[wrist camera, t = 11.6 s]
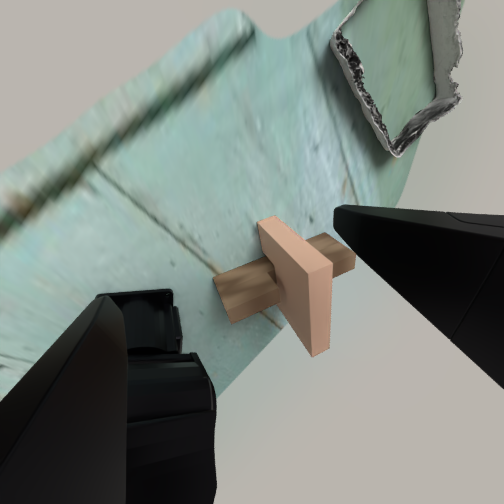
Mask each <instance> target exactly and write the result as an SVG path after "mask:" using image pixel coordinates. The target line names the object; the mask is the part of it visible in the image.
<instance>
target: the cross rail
mask: <svg viewBox="0 0 504 504" xmlns="http://www.w3.org/2000/svg"><path fill="white" fill-rule="evenodd" d="M305 241H307V242H308V243H309V244H310V245H312V246H313V247H314V248H315V249H316V250H318V251H319V252H320V253H321V254H322V255H324V256H325V257H326V258H327V259H329V260H330V261H331V262H332V263H333V275H332V278H334V277H337V276H339V275H341V274H343V273H346V272H348V271H350V270H352V269H354V267H355V258H356V254H355V253H354V252H353V251H352V250H350V249H349V248H347V247H346V246H344V245H343V244H341V243H340V242H338V241H337V240H336V239H334V238H333V237H331V236H330V235H328V234H327V233H322V234H320V235H317V236H315V237H312V238H310V239H307V240H305ZM213 279H214V282H215V285H216V287H217V290H218V292H219V295H220V297H221V300H222V302H223V305H224V307H225V310H226V312H227V315H228V317H229V320H230V322H231V324H233V323H236V322H238V321H240V320H242V319H244V318H247V317H249V316H251V315H253V314H255V313H258V312H260V311H262V310H264V309H266V308H269V307H271V306H273V305H275V304H277V303H280V302H281V301H280V294H279V288H278V286H277V285H276V283H277V280H276V274H275V268H274V265H273V263H272V262H271V261H270V260H269V259H268V257H267V256H265V257H262V258H260V259H257V260H255V261H252V262H250V263H247V264H245V265H242V266H240V267H237V268H235V269H233V270H230V271H228V272H225V273H223V274H220V275H218V276H215V277H213Z"/></svg>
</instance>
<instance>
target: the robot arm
mask: <svg viewBox="0 0 504 504" xmlns="http://www.w3.org/2000/svg"><path fill="white" fill-rule="evenodd" d="M333 227H334V229H335V231H336V232H337V233H338V234H339V236H340V237H341V238H342V239H343V240H344V241H345V242H346V244H347V245H348V246H349V247H350V248H351V249H352V250H353V251H354V252H355V254H356V255H358V257H360V258H361V259H362V260H363V261H364V262H365V263H366V264H367V265H368V266H369V267H370V268H371V269H373V270H374V271H375V272H376V273H377V274H378V275H379V276H380V277H381V278H382V279H384V280H385V281H386V282H387V283H388V284H389V285H390V286H391V287H392V288H393V289H395V290H396V291H397V292H398V293H399V294H400V295H401V296H402V297H403V298H404V299H405V300H407V301H408V302H409V303H410V304H411V305H412V306H413V307H414V308H415V309H417V310H418V311H419V312H420V313H421V314H422V315H423V316H424V317H425V318H426V319H427V320H428V321H430V322H431V323H432V324H433V325H434V326H435V327H436V328H437V329H438V330H439V331H441V332H442V333H443V334H444V335H445V336H446V337H447V338H448V339H450V341H451V342H452V343H453V344H455V345H456V346H457V347H458V348H459V349H460V350H461V351H462V352H463V353H464V354H466V355H467V356H468V357H469V358H470V359H471V360H472V361H473V362H474V363H475V364H476V365H478V366H479V367H480V368H481V369H482V370H483V371H484V372H485V373H486V374H487V375H488V376H490V377H491V378H492V379H493V380H494V381H495V382H496V383H497V384H498V385H499V386H500V387H502V388H503V389H504V215H487V214H470V213H455V212H454V213H453V212H446V213H445V212H440V211H425V210H413V209H399V208H386V207H372V206H358V205H341V206H338V207H336V208H335V209H334V216H333ZM167 293H170V294H168V295H166V294H167ZM182 340H183V336H182V329H181V323H180V317H179V311H178V308H177V307H176V306H173V290H172V289H157V290H144V291H131V292H118V293H104V294H98V295H97V296H96V297H95V300H93V301H92V302H91V303H90V304H89V305H88V306H87V307H86V308H85V310H84V311H83V312H82V313H81V314H80V315H79V316H78V317H77V318H76V319H75V321H74V322H73V323H72V324H71V325H70V326H69V327H68V328H67V329H66V330H65V331H64V333H63V334H62V335H61V336H60V337H59V338H58V339H57V340H56V341H55V342H54V344H53V345H52V346H51V347H50V348H49V349H48V350H47V351H46V352H45V353H44V354H43V356H42V357H41V358H40V359H39V360H38V361H37V362H36V363H35V364H34V365H33V366H32V368H31V369H30V370H29V371H28V372H27V373H26V374H25V375H24V376H23V377H22V379H21V380H20V381H19V382H18V383H17V384H16V385H15V386H14V387H13V388H12V389H11V391H10V392H9V393H8V394H7V395H6V396H5V397H4V398H3V399H2V400H1V402H0V504H213V502H214V498H215V494H216V489H217V480H216V468H215V453H214V433H215V432H214V431H215V423H216V408H217V405H216V394H215V389H214V386H213V384H212V382H211V380H210V378H209V376H208V374H207V372H206V370H205V368H204V366H203V364H202V363H201V361H200V359H199V357H198V355H197V353H196V352H190V353H189V354H181V352H182Z"/></svg>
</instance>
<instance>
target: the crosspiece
mask: <svg viewBox="0 0 504 504" xmlns="http://www.w3.org/2000/svg"><path fill="white" fill-rule="evenodd" d="M257 225H258V230H259V235H260V240H261V246H262V251H263V252H264V254H265V255H266V256H267V257H268V259H269V260H270V261H271V262H272V263H273V265H274V268H275V274H276V280H277V283H276V285H277V286H278V288H279V294H280V301H281V302H280V303H277V306H278V307H279V309H280V310H281V312H282V313H283V315H284V316H285V318H286V319H287V321H288V322H289V324H290V325H291V327H292V328H293V330H294V331H295V333H296V334H297V336H298V337H299V339H300V340H301V342H302V343H303V345H304V346H305V348H306V349H307V351H308V352H309V354H310V355H311V357H314V356H316V355H318V354H320V353H321V352H323V351H325V350H327V349H329V348H330V323H331V298H332V275H333V263H332V262H331V261H330V260H329V259H327V258H326V257H325V256H324V255H322V254H321V253H320V252H319V251H318V250H316V249H315V248H314V247H313V246H312V245H310V244H309V243H308V242H307V241H305V240H304V239H303V238H302V237H301V236H299V235H298V234H297V233H296V232H295V231H293V230H292V229H291V228H290V227H288V226H287V225H286V224H285V223H284V222H282V221H281V220H280V219H279V218H278V217H276V216H275V215H274V216H272V217H269V218H266V219H263V220H261V221H258V222H257Z"/></svg>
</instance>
